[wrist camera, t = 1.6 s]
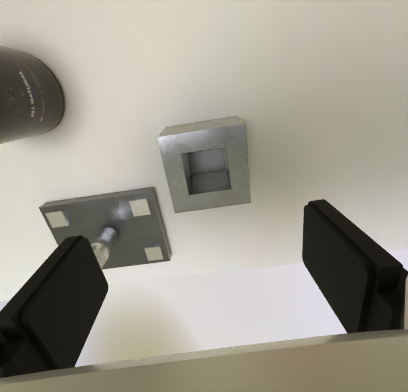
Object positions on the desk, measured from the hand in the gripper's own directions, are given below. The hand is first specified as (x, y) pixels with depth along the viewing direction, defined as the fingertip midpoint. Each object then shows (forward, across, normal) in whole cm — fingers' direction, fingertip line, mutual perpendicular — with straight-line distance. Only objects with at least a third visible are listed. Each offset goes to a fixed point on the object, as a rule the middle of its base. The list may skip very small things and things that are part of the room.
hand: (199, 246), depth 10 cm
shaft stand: (+15, +11, +7) cm, 20 cm away
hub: (+14, -1, 0) cm, 14 cm away
